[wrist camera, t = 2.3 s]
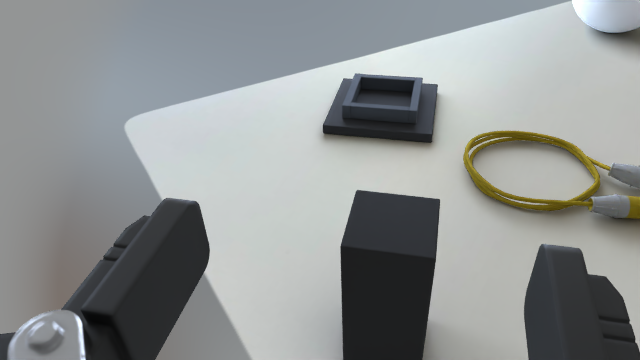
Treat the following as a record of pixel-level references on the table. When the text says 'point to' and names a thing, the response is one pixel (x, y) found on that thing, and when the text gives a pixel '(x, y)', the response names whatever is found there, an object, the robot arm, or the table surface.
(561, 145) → the yellow coiled cord
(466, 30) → the table surface
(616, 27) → the decorative ball
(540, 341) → the robot arm
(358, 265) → the tall dark pillar
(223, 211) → the table surface
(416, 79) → the base pad
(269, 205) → the table surface
